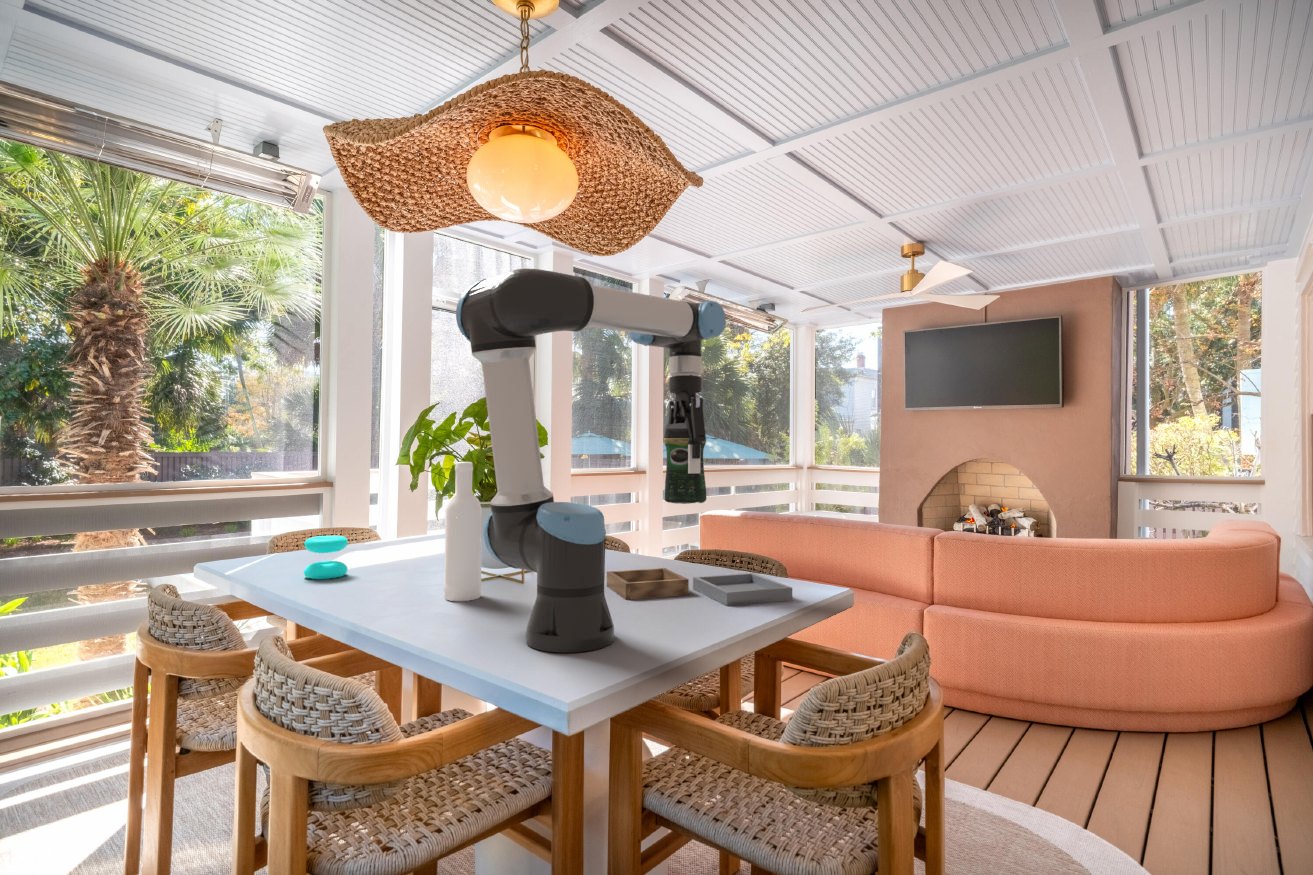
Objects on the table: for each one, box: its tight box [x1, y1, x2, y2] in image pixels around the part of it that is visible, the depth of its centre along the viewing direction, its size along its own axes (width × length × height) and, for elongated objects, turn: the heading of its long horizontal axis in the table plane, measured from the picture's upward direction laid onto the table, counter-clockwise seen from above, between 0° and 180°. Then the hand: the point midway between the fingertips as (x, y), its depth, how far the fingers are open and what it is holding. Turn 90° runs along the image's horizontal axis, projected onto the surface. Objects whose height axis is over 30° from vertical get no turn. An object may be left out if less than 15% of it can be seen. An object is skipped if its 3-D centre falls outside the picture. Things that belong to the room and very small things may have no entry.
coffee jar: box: [663, 422, 707, 505], centre depth 157 cm, size 10×8×19 cm
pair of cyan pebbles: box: [303, 535, 349, 580], centre depth 172 cm, size 10×10×10 cm
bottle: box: [443, 461, 483, 602], centre depth 149 cm, size 8×8×30 cm
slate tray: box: [692, 572, 793, 607], centre depth 154 cm, size 16×18×3 cm
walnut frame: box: [606, 567, 690, 600], centre depth 158 cm, size 15×15×4 cm
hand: (685, 472), depth 157 cm, fingers closed on coffee jar, 9 cm apart
